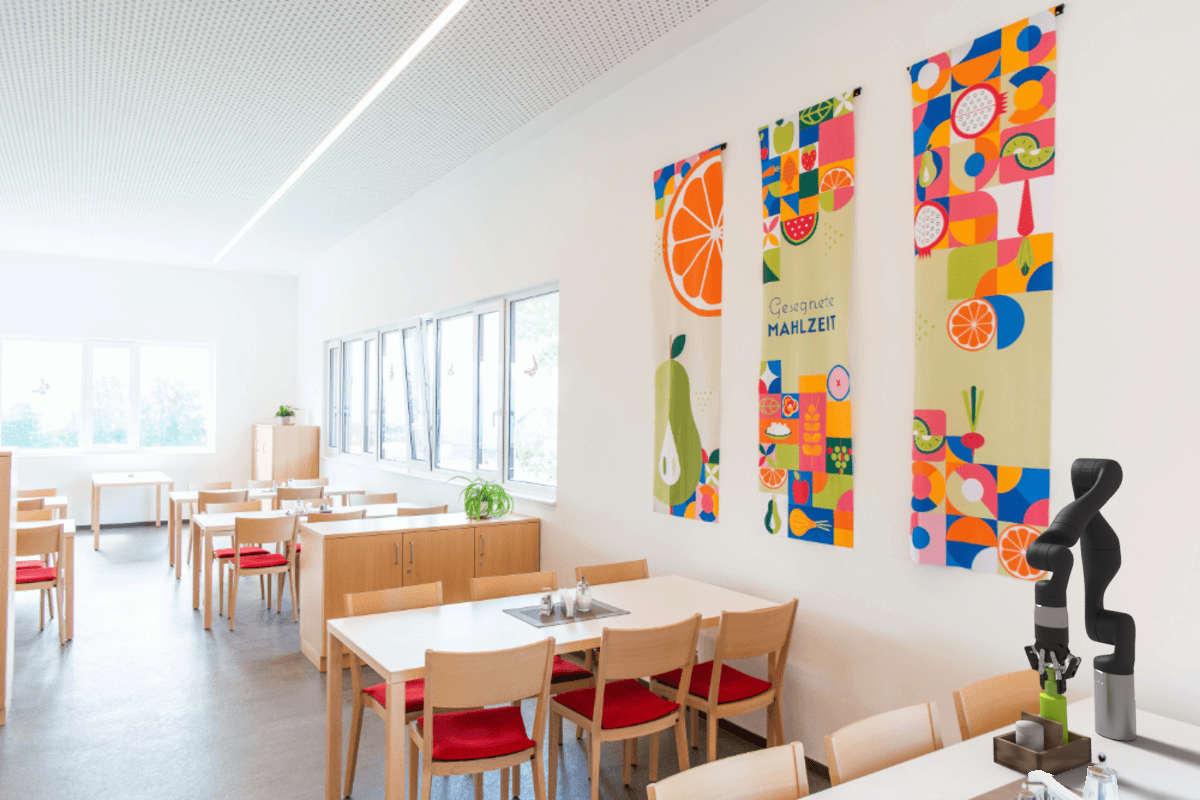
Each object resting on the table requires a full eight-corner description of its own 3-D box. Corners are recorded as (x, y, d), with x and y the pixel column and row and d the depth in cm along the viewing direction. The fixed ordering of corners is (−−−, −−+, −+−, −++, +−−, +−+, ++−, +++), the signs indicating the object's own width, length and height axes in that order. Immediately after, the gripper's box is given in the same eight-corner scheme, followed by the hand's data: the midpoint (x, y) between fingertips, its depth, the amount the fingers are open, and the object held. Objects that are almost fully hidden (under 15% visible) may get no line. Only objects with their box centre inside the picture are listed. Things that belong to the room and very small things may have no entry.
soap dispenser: (1077, 754, 190) (1073, 672, 191) (1046, 752, 191) (1043, 671, 192) (1067, 745, 195) (1063, 665, 196) (1037, 743, 196) (1034, 664, 198)
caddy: (993, 761, 191) (992, 716, 192) (1044, 745, 201) (1043, 702, 202) (1040, 780, 181) (1039, 733, 181) (1091, 762, 191) (1090, 717, 191)
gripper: (1088, 627, 190) (1090, 697, 190) (1033, 615, 203) (1034, 681, 202) (1070, 630, 187) (1072, 702, 186) (1015, 618, 199) (1017, 685, 199)
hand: (1053, 691), depth 194 cm, fingers closed on soap dispenser, 3 cm apart
